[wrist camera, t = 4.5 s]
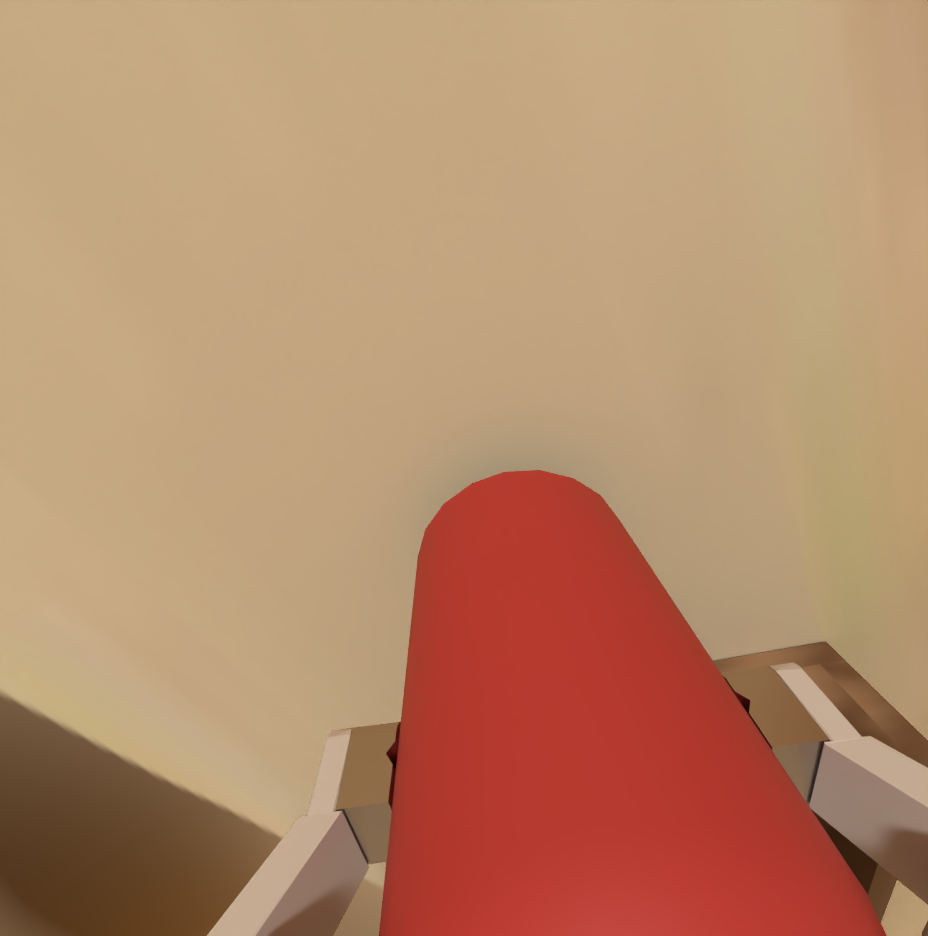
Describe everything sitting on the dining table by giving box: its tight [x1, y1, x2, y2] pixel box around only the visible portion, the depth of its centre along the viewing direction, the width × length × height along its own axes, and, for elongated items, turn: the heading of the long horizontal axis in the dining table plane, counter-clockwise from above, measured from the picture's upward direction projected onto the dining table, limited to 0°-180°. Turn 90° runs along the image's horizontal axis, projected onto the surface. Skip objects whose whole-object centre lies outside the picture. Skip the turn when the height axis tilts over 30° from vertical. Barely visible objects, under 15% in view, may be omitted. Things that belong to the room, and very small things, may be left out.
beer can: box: [379, 470, 886, 936], centre depth 10 cm, size 7×7×12 cm
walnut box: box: [713, 642, 928, 923], centre depth 21 cm, size 16×16×5 cm
